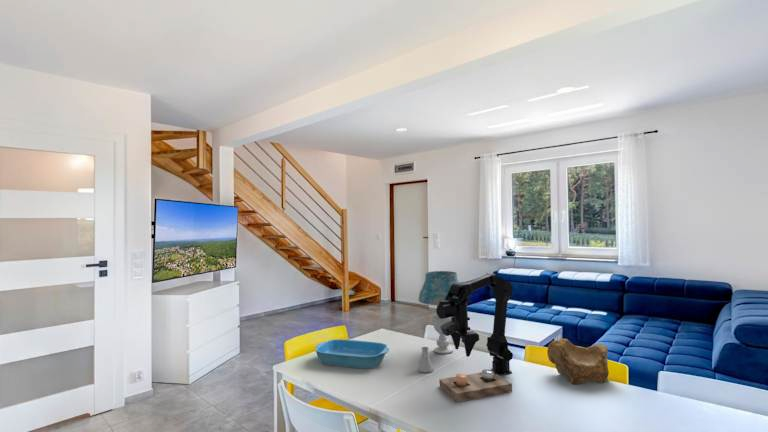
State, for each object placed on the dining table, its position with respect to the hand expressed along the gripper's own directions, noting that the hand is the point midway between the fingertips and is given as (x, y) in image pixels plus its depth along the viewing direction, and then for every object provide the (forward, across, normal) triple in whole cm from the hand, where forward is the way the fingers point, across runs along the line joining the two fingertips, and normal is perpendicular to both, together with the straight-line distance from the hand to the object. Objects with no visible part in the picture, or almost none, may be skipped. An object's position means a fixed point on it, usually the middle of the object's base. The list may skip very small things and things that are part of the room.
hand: (462, 352), depth 156 cm
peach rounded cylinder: (+10, +6, -4) cm, 12 cm away
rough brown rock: (+14, +13, +46) cm, 50 cm away
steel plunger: (+10, +6, +8) cm, 14 cm away
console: (+12, +6, +2) cm, 14 cm away
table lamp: (+13, -39, +9) cm, 42 cm away
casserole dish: (+12, -42, -38) cm, 58 cm away
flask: (+13, -18, -9) cm, 24 cm away
